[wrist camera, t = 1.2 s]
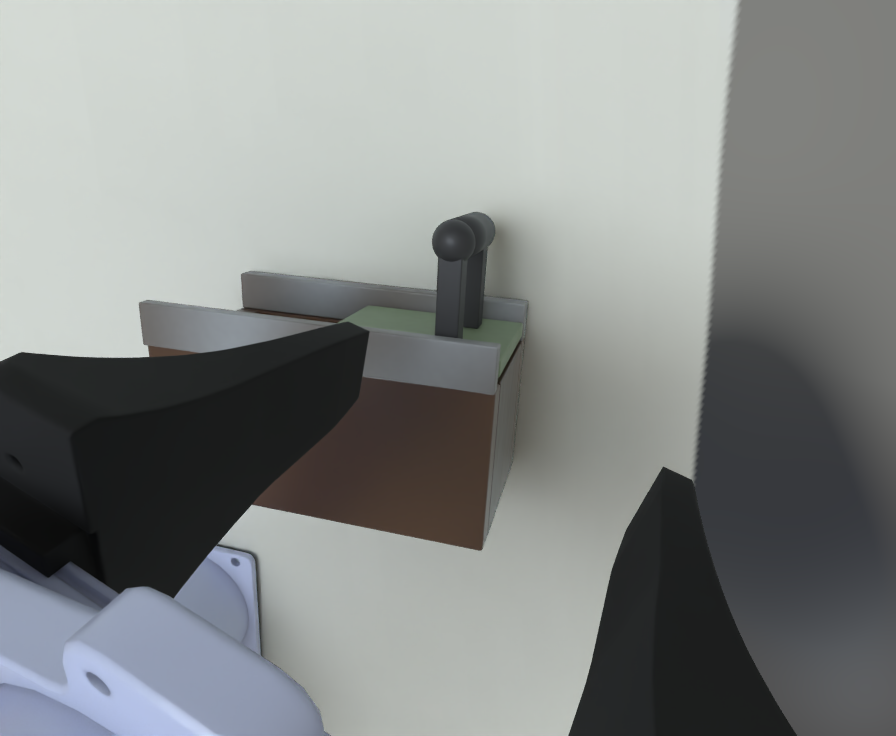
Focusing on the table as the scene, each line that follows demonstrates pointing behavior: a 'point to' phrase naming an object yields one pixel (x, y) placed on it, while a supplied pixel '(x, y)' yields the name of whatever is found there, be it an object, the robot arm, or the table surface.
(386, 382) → the cabinet
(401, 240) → the table surface
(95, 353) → the table surface
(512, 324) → the closet door
